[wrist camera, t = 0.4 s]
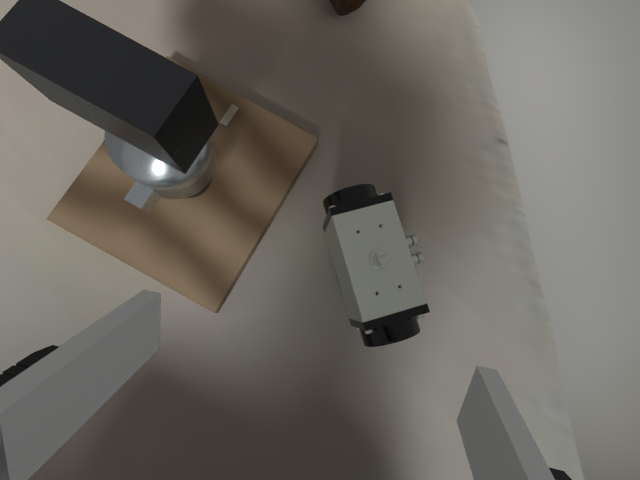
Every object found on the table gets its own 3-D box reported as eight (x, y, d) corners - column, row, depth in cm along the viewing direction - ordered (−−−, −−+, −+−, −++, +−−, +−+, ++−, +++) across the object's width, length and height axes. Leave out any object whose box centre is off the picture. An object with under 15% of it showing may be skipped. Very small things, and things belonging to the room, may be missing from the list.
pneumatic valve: (347, 337, 33) (375, 355, 22) (315, 223, 35) (325, 183, 24) (400, 321, 34) (456, 330, 22) (366, 210, 36) (400, 165, 24)
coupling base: (218, 312, 33) (204, 314, 28) (57, 222, 33) (16, 208, 29) (317, 144, 37) (321, 120, 32) (171, 65, 37) (153, 29, 32)
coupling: (193, 238, 29) (116, 189, 16) (91, 181, 29) (-62, 90, 17) (256, 140, 31) (229, 30, 18) (159, 88, 31) (68, -56, 19)
